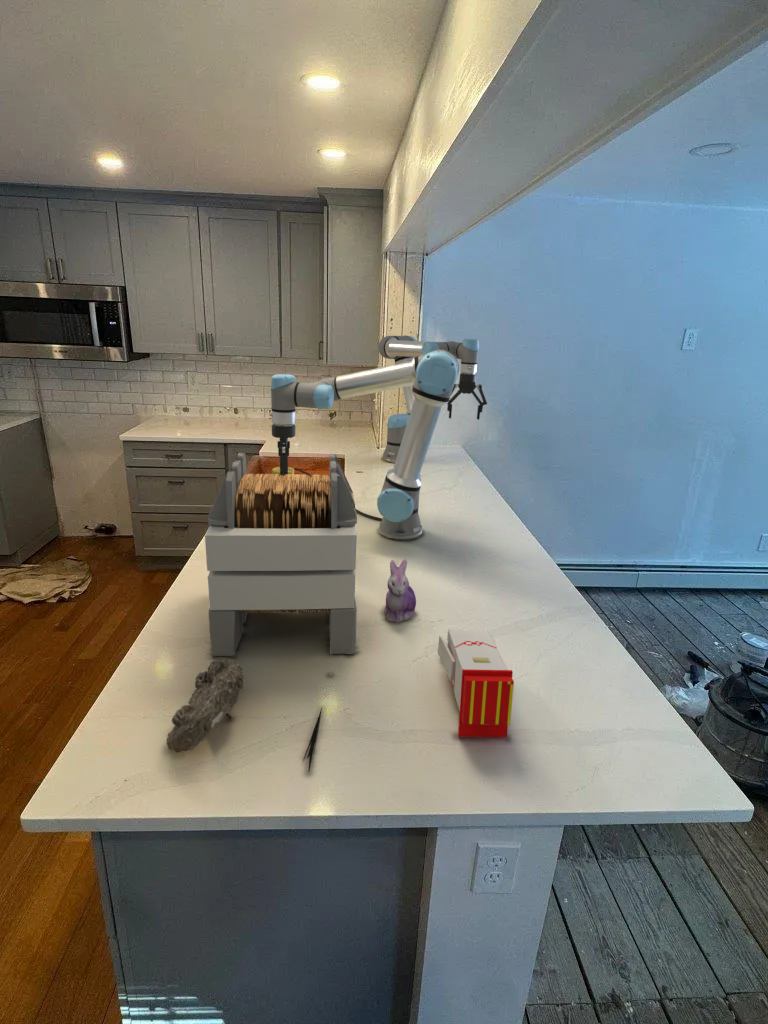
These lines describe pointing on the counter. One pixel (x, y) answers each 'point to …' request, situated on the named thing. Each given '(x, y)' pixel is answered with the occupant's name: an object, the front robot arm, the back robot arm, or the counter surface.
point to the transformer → (281, 552)
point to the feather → (313, 740)
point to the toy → (478, 682)
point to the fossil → (206, 705)
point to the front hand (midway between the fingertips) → (284, 492)
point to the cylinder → (277, 471)
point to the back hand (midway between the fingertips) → (463, 418)
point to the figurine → (399, 594)
